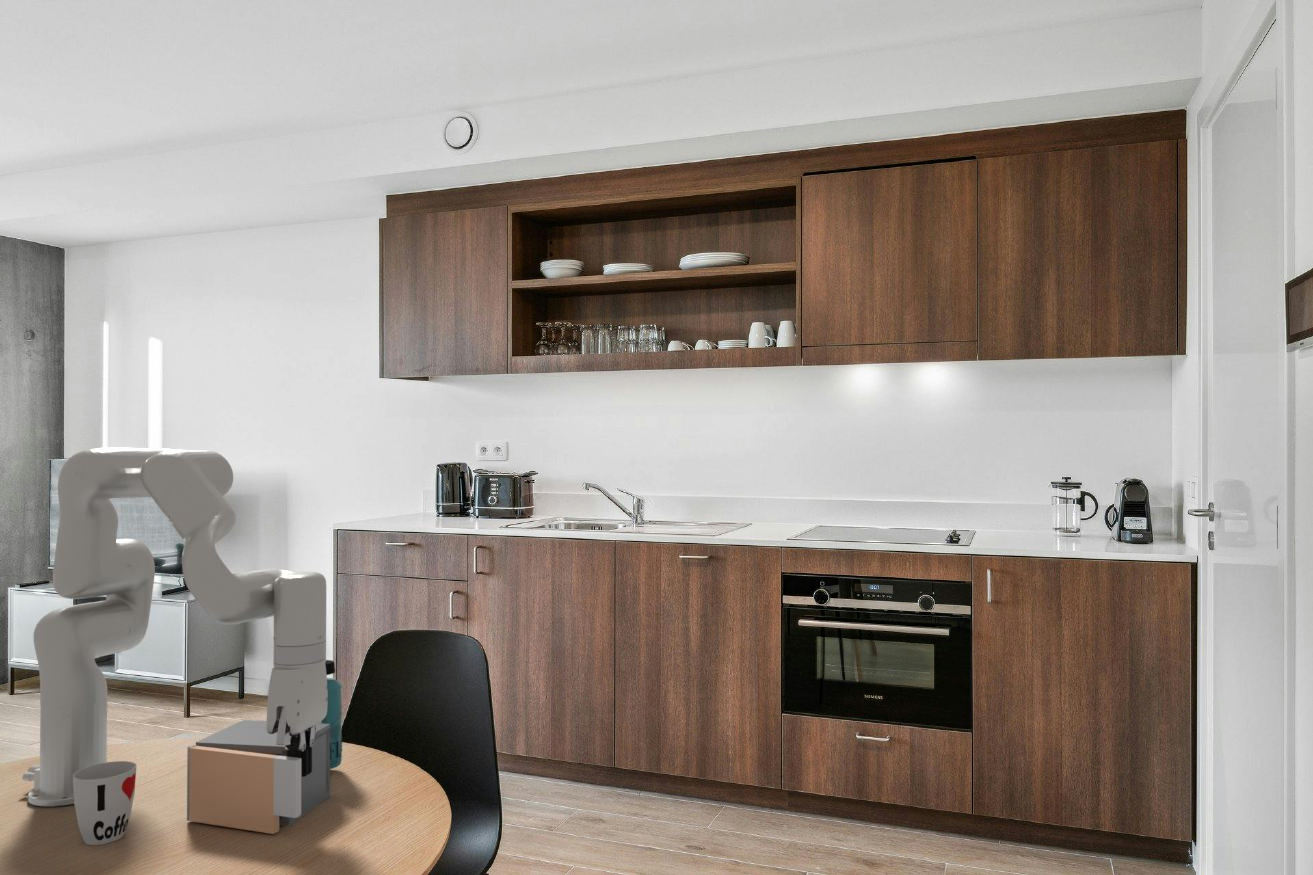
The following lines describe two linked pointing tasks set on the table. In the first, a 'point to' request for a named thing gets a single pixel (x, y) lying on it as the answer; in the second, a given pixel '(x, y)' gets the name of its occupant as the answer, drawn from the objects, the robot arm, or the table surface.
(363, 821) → the table surface
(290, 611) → the robot arm
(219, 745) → the grey smooth box
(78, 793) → the cup
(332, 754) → the beverage bottle
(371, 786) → the table surface
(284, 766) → the door
